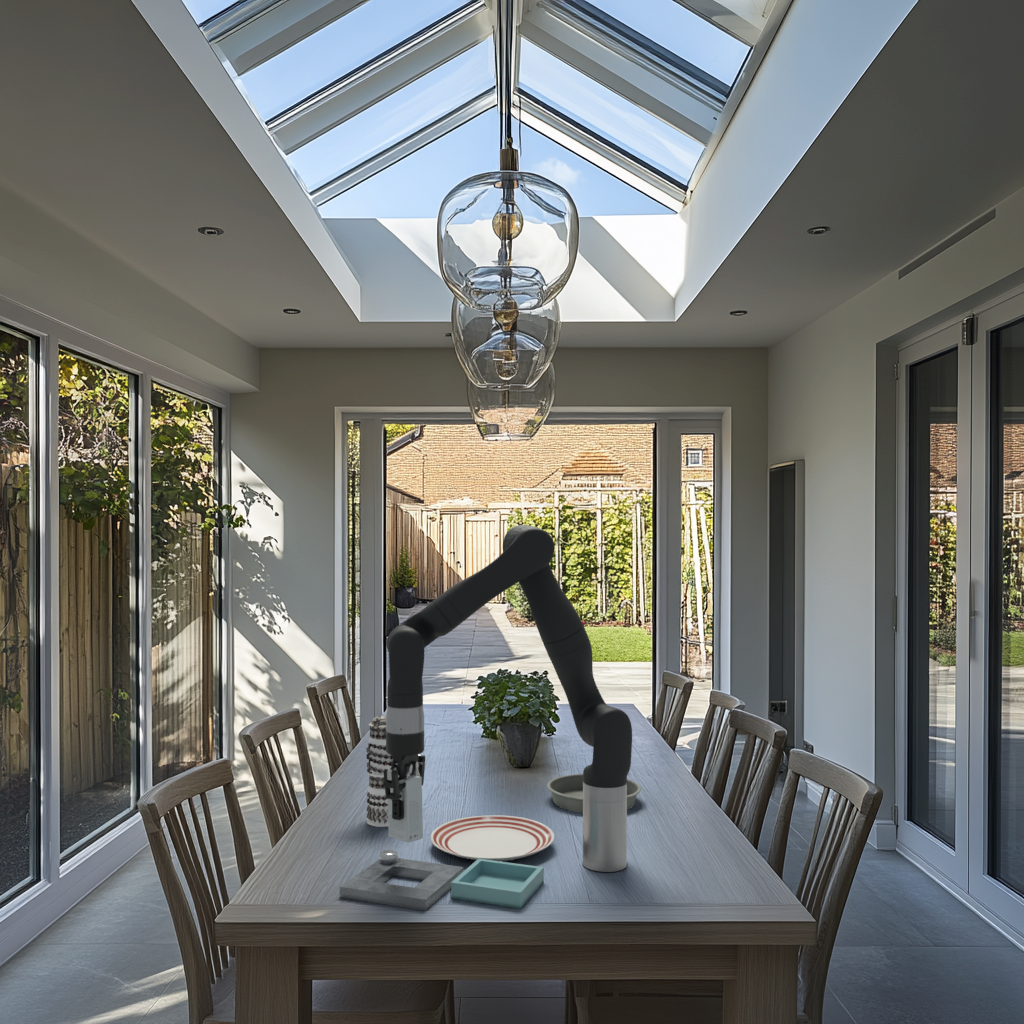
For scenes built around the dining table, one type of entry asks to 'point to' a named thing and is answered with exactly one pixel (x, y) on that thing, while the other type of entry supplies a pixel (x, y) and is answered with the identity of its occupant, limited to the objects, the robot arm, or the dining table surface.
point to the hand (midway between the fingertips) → (405, 814)
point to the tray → (497, 883)
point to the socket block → (421, 897)
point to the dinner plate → (492, 837)
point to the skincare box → (408, 812)
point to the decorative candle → (377, 773)
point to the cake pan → (581, 792)
